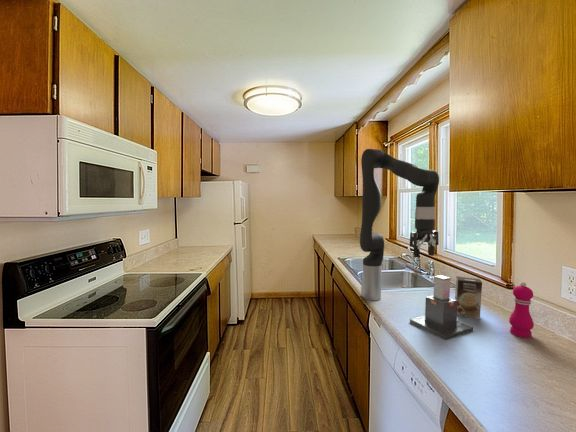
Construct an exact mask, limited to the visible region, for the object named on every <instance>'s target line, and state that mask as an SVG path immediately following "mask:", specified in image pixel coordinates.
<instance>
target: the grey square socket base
mask: <svg viewBox="0 0 576 432" xmlns="http://www.w3.org/2000/svg"><path fill="white" fill-rule="evenodd" d="M424 305H425V307H424V315H421V316H416V317H413V318H409V323H410V324H412V325H414V326H416V327H419V329H422V330H423V331H427V332H428V333H430V334H433V335H434V336H437V337H439V338H440V339H443V340H445V341H446V340H449V339H453V338H456V337H458V336H462V335H466V334H468V333H471V332H472V333H473V332H474V327H473V326H471V325H468V324H465V323H464V322H461V321H459V320H458V316H457V305H458V300H455V298H452V297H450V299H449V300H448V301H440V300H437V299H434V294H433V295H428V296H425V304H424Z"/></svg>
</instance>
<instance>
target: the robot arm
mask: <svg viewBox="0 0 576 432" xmlns="http://www.w3.org/2000/svg"><path fill="white" fill-rule="evenodd" d="M375 169H383V170H384V169H385V170H388V171H390V172H391V173H392V174H393V175H395V176H397V177H399V178H401V179H405V180H407V181H408V182H409V183H411V184H413V185H415V186H417V187H422V190H421V192H419V193H417V194H416V196H415V212H414V229H416V232H413V231H411V232H410V233H409V247H411V248H412V249H413V257H414V258H415V259H417V258H418V259H419V258H420V257H421V256H420V251H421V246H422V245H423V244H424V243H426V244H427V245H428V249H427V250H428V256H431V257H434V256H435V249H436V246H439V241H440V240H439V231H438V230H435V229H436V209H435V208H436V207H435V206H436V205H435V203H436V194H437V191H438V188H439V184H440V175H439V173H438V171H436V170H434V169H426V168H424V169H423V168H420V167H418V166H417V165H416V164H413V163H411V162H408V161H404V160H402V159H398V158H395V157H393V156H392V155H390V154H388V153H387V152H385V151H383V150H381V149H374V148H366V149H365V150H364V151H363V152H362V155H361V175H362V177H361V178H362V195H361V196H362V197H361V198H362V199H361V201H362V202H361V203H362V204H361V206H362V207H361V210H362V211H361V227H360V234H359V246H360V247H359V248H360V249H361V250H362V251H363V252H365V253H369V254H368V255H367V256H365V257H363V259H362V277H361V278H360V281H361V282H360V284H361V285H360V289H361V291H360V295H361V297H362V298H363V299H366V300H368V301H379V300H381V298H382V268H383V267H382V263H383V261H384V252H385V240H384V236H383V235H382V234H381V233H379V232H373V226H374V223H375V221H376V218H377V217H378V215H379V213H380V211H381V208H382V192H381V189H380V187H379V185H378V183H377V182H376V177H375Z"/></svg>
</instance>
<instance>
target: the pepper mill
mask: <svg viewBox="0 0 576 432" xmlns="http://www.w3.org/2000/svg"><path fill="white" fill-rule="evenodd" d="M519 284H520V285H516V286H515V287H513V289H512V295H513V296H514V297H513V302H514V309H513V311H512V313H511V314H510V316H509V319H508V322H509V325H511V326H510V328H509V329H510V331H509V332H510V334H512V335H514V336H516V337H519V338H525V339H530V338H532V331H531V330H532V329H534V327H535V325H534V320H533V318H532V316H531V313H530V312H531V311H530V306H531V305H532V303H531V302H532V300H531V299H533V297H534V292H533V289H531V288H530V287H528V286H527V283H526V282H524V281H522V282H520V283H519Z"/></svg>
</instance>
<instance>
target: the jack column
mask: <svg viewBox="0 0 576 432" xmlns="http://www.w3.org/2000/svg"><path fill="white" fill-rule="evenodd" d="M451 279H452V278H451V277H450V276H446V275H441V274H439V275H434V276H433V295H434V299H437V300H440V301H448V300H449V299H450V298H451V297H450V296H451Z"/></svg>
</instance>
